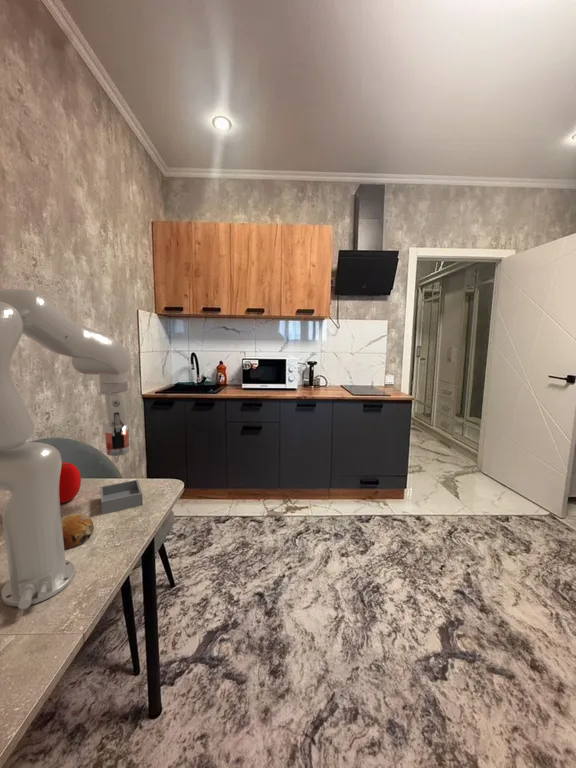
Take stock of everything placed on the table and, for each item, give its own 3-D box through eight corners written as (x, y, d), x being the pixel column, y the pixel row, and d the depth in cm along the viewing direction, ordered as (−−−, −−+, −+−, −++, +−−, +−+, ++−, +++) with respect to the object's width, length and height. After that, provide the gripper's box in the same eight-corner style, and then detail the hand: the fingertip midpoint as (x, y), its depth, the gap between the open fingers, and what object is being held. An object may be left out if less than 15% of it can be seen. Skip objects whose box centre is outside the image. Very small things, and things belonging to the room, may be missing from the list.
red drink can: (130, 453, 102) (129, 425, 100) (107, 457, 98) (105, 428, 97) (128, 447, 107) (127, 420, 106) (106, 450, 104) (104, 423, 103)
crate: (142, 505, 104) (142, 493, 103) (102, 514, 98) (101, 502, 97) (138, 490, 113) (137, 479, 113) (101, 498, 107) (100, 486, 107)
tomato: (67, 510, 100) (63, 471, 98) (29, 509, 100) (24, 470, 98) (91, 491, 112) (88, 455, 110) (57, 490, 112) (54, 455, 110)
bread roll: (90, 537, 93) (84, 509, 94) (101, 536, 86) (95, 506, 88) (48, 554, 86) (42, 523, 87) (57, 554, 79) (50, 521, 80)
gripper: (130, 391, 94) (134, 451, 97) (125, 383, 109) (128, 435, 112) (100, 393, 90) (105, 455, 93) (99, 384, 105) (102, 438, 108)
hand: (117, 443), depth 102 cm, fingers closed on red drink can, 6 cm apart
